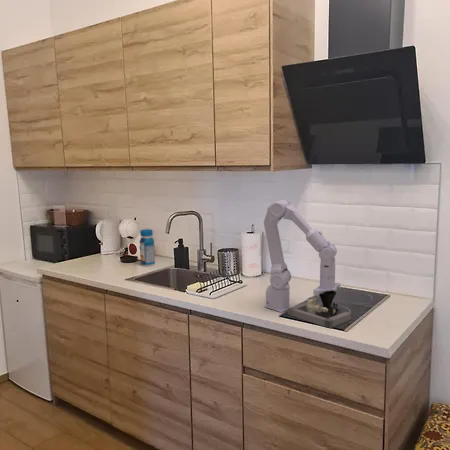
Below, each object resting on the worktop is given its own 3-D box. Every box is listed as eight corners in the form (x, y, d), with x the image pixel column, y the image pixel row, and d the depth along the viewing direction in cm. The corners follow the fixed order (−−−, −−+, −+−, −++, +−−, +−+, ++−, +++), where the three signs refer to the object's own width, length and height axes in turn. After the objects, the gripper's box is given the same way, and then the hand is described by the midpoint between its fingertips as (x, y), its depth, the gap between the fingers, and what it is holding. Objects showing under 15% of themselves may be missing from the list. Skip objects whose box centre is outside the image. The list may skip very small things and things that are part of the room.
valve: (302, 316, 183) (330, 322, 175) (302, 299, 182) (331, 305, 174) (310, 311, 188) (338, 317, 180) (311, 295, 187) (339, 301, 179)
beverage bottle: (151, 266, 264) (150, 231, 261) (137, 266, 266) (136, 231, 263) (157, 263, 272) (156, 229, 269) (143, 262, 274) (142, 228, 271)
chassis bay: (287, 314, 184) (287, 308, 184) (308, 307, 193) (309, 301, 192) (329, 328, 169) (329, 321, 169) (350, 319, 178) (350, 313, 177)
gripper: (324, 281, 174) (323, 316, 176) (347, 274, 184) (346, 307, 186) (309, 277, 179) (308, 311, 182) (332, 270, 189) (331, 303, 191)
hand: (326, 309), depth 184 cm, fingers closed
